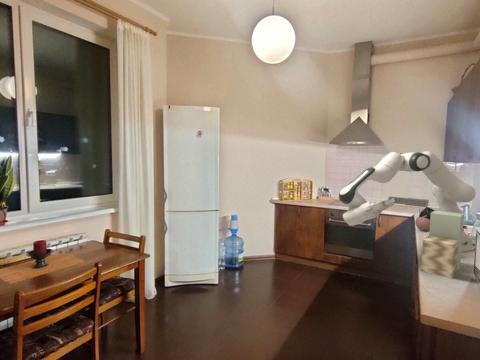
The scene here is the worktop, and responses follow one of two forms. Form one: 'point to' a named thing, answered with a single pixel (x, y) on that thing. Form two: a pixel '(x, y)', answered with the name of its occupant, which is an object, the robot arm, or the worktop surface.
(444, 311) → the worktop surface
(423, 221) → the pink toy umbrella
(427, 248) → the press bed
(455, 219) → the column
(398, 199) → the lever bar
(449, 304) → the worktop surface
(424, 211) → the squash
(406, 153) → the robot arm
